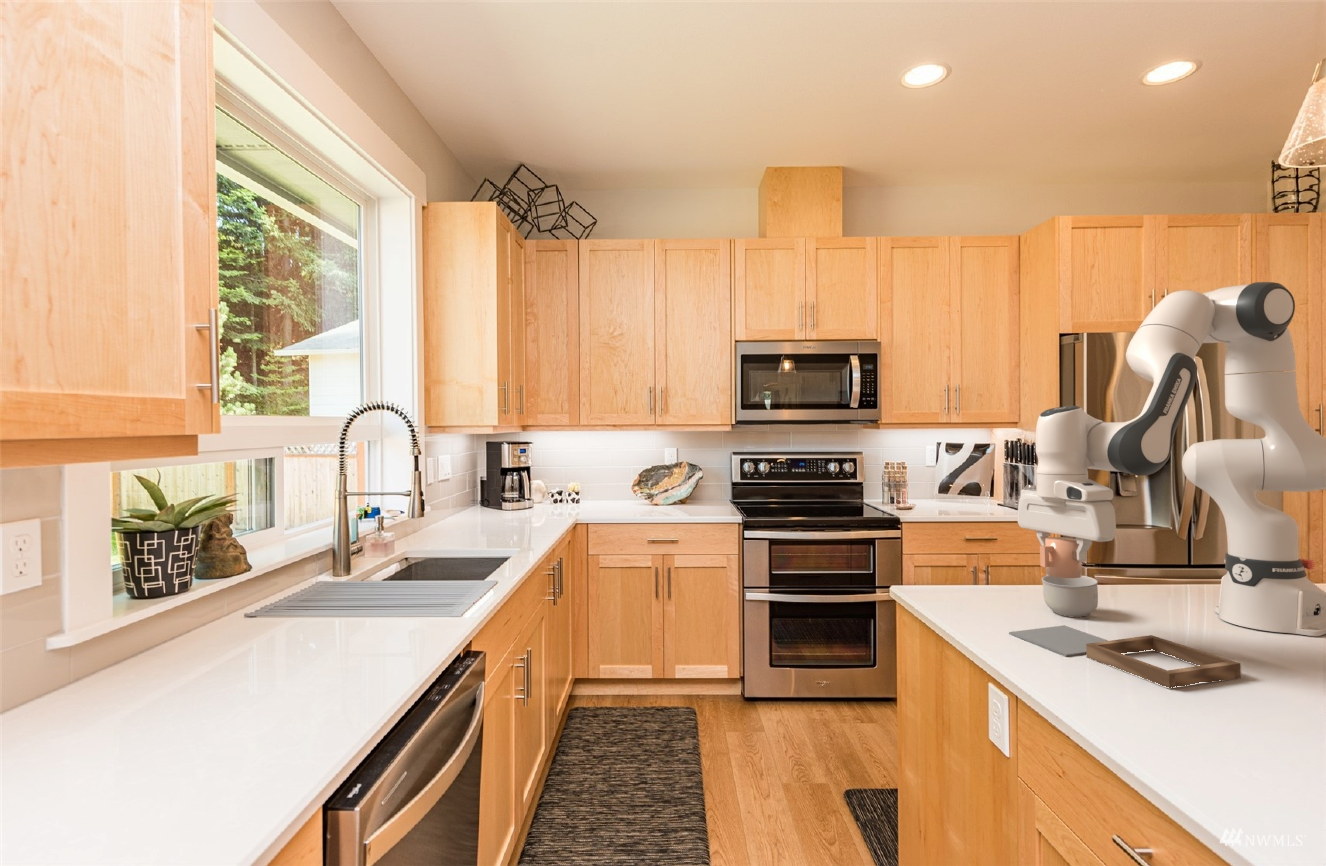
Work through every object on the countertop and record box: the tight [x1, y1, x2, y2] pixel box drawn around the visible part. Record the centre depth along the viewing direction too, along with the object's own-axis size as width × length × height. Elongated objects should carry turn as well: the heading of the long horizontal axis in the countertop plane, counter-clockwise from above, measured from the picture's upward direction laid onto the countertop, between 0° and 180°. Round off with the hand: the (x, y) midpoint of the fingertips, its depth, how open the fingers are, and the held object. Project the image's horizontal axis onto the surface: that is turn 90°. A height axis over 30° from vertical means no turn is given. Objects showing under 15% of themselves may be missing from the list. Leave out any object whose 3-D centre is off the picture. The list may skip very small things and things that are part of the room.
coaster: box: [1008, 625, 1109, 658], centre depth 129 cm, size 14×14×1 cm
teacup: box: [1041, 574, 1099, 618], centre depth 149 cm, size 14×11×8 cm
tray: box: [1085, 634, 1242, 688], centre depth 115 cm, size 15×15×2 cm
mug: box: [1039, 536, 1083, 578], centre depth 129 cm, size 8×6×7 cm
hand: (1063, 557), depth 129 cm, fingers closed on mug, 6 cm apart
